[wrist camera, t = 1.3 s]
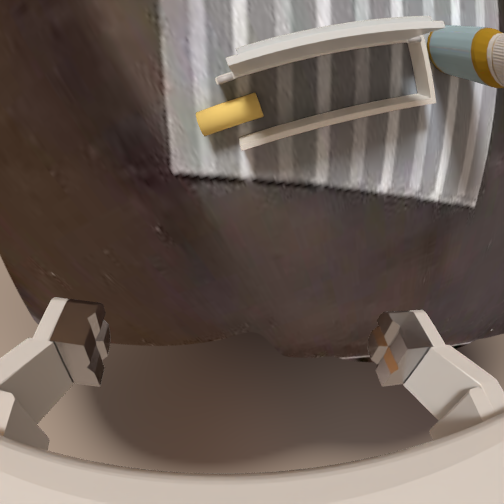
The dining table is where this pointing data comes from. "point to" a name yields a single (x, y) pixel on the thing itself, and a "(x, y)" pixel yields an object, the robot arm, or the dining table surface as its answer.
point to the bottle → (469, 53)
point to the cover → (329, 40)
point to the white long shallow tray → (354, 112)
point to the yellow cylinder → (229, 114)
